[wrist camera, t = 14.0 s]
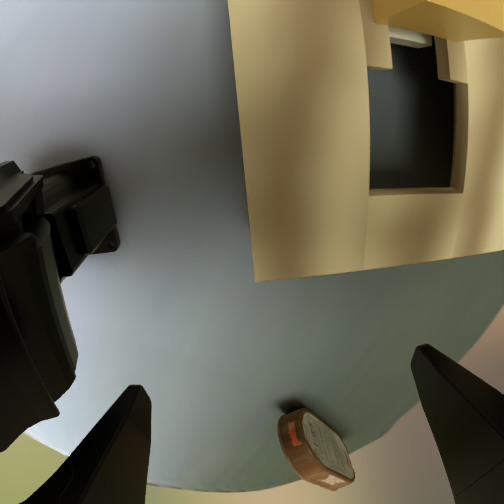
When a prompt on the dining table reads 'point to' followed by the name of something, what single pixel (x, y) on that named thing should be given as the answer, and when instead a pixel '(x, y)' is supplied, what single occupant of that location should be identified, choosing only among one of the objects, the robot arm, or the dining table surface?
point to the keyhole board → (355, 144)
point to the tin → (314, 450)
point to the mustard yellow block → (439, 20)
